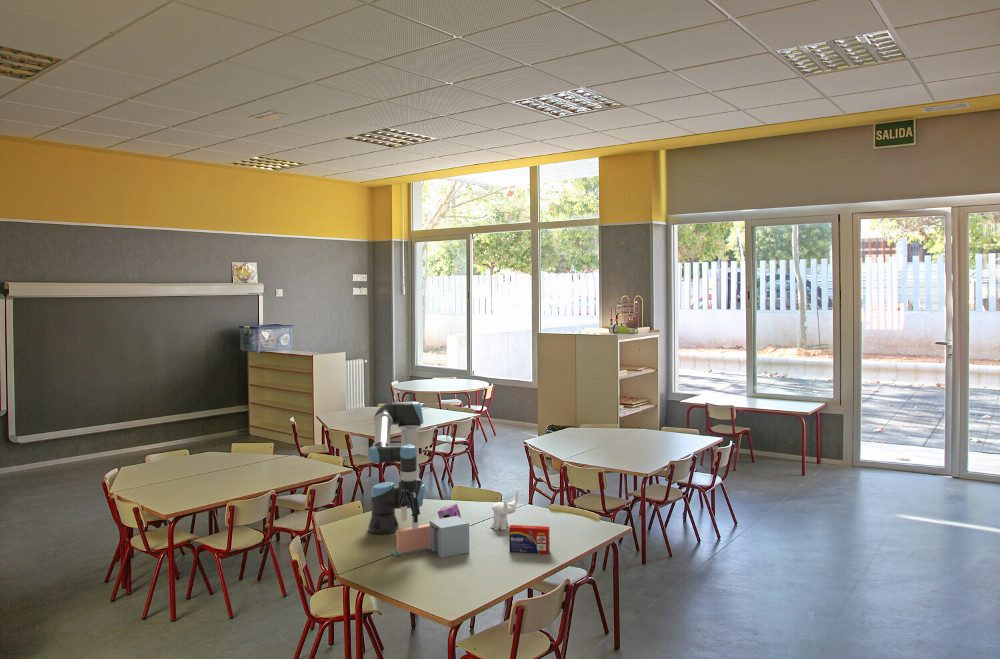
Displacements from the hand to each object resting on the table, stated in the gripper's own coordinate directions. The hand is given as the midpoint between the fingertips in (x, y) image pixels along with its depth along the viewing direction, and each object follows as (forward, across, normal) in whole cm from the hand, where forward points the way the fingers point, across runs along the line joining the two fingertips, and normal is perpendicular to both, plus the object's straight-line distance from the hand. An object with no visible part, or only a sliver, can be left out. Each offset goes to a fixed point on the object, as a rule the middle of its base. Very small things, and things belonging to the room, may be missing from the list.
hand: (409, 524), depth 337 cm
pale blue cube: (+12, +10, +16) cm, 22 cm away
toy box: (+12, +30, +47) cm, 57 cm away
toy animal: (+13, -7, +54) cm, 56 cm away
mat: (+12, +1, 0) cm, 12 cm away
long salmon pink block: (+12, +1, +2) cm, 12 cm away
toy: (+13, -9, +26) cm, 30 cm away
